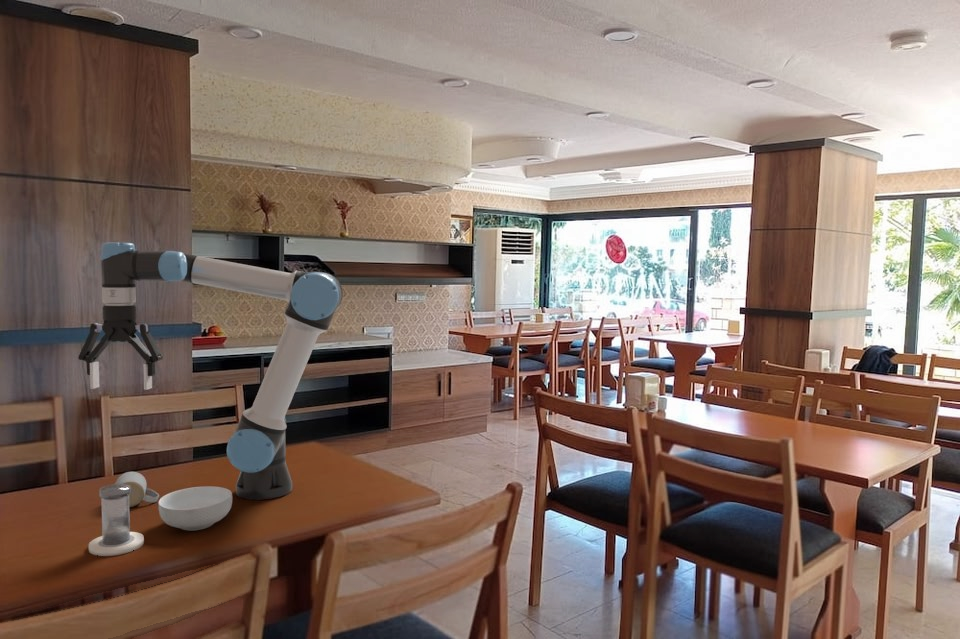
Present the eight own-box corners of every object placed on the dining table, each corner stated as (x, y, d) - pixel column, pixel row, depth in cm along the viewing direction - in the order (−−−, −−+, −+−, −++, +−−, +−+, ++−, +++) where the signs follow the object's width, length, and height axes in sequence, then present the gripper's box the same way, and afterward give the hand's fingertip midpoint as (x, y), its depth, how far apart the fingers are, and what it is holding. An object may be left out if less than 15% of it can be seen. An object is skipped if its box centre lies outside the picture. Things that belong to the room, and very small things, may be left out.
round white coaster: (152, 537, 164) (152, 531, 164) (128, 556, 153) (127, 550, 153) (106, 536, 164) (106, 530, 164) (78, 555, 153) (77, 549, 153)
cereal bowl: (182, 511, 182) (181, 484, 181) (244, 514, 180) (243, 487, 179) (144, 536, 165) (143, 506, 164) (212, 540, 163) (211, 510, 163)
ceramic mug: (113, 510, 181) (113, 481, 181) (115, 500, 189) (115, 472, 188) (159, 505, 186) (159, 477, 185) (158, 496, 193) (158, 468, 193)
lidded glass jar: (137, 535, 162) (135, 484, 161) (122, 546, 156) (121, 492, 155) (110, 534, 162) (109, 483, 161) (94, 545, 156) (93, 492, 155)
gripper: (61, 304, 174) (63, 390, 175) (161, 306, 173) (163, 391, 174) (79, 302, 181) (81, 385, 183) (175, 304, 180) (177, 386, 182)
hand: (121, 388), depth 179 cm, fingers open, 13 cm apart
